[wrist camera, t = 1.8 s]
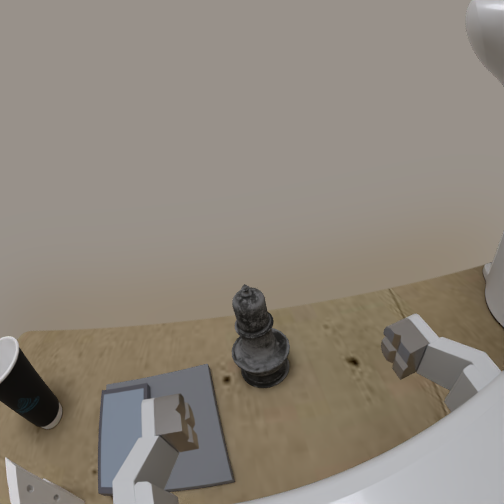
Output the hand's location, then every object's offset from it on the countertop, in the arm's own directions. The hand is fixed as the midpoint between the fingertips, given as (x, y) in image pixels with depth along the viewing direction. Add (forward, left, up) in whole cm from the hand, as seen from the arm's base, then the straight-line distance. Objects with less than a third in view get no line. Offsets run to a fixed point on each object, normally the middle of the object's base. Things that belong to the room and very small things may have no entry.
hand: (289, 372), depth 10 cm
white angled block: (+25, +2, -18) cm, 31 cm away
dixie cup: (+29, -12, -18) cm, 36 cm away
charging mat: (+12, -8, -18) cm, 23 cm away
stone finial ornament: (0, -13, -18) cm, 22 cm away
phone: (+16, -7, -17) cm, 24 cm away
